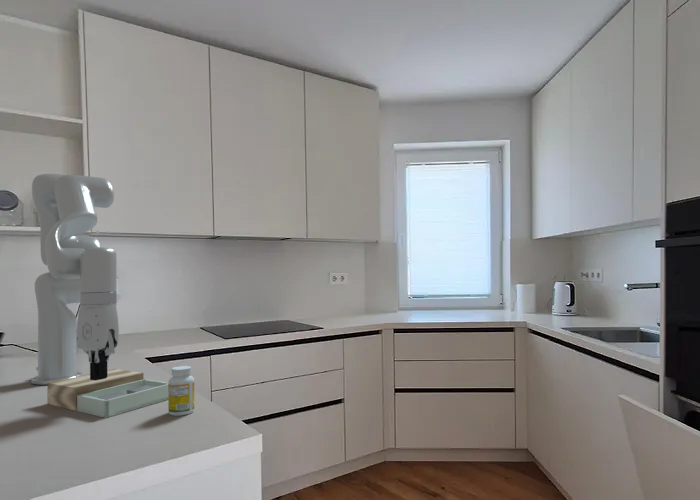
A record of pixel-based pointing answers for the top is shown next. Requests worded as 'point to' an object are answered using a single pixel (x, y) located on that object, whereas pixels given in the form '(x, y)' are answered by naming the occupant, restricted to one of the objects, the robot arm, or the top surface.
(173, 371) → the supplement bottle
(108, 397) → the tile
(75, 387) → the board
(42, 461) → the top surface
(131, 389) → the tile
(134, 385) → the tray
